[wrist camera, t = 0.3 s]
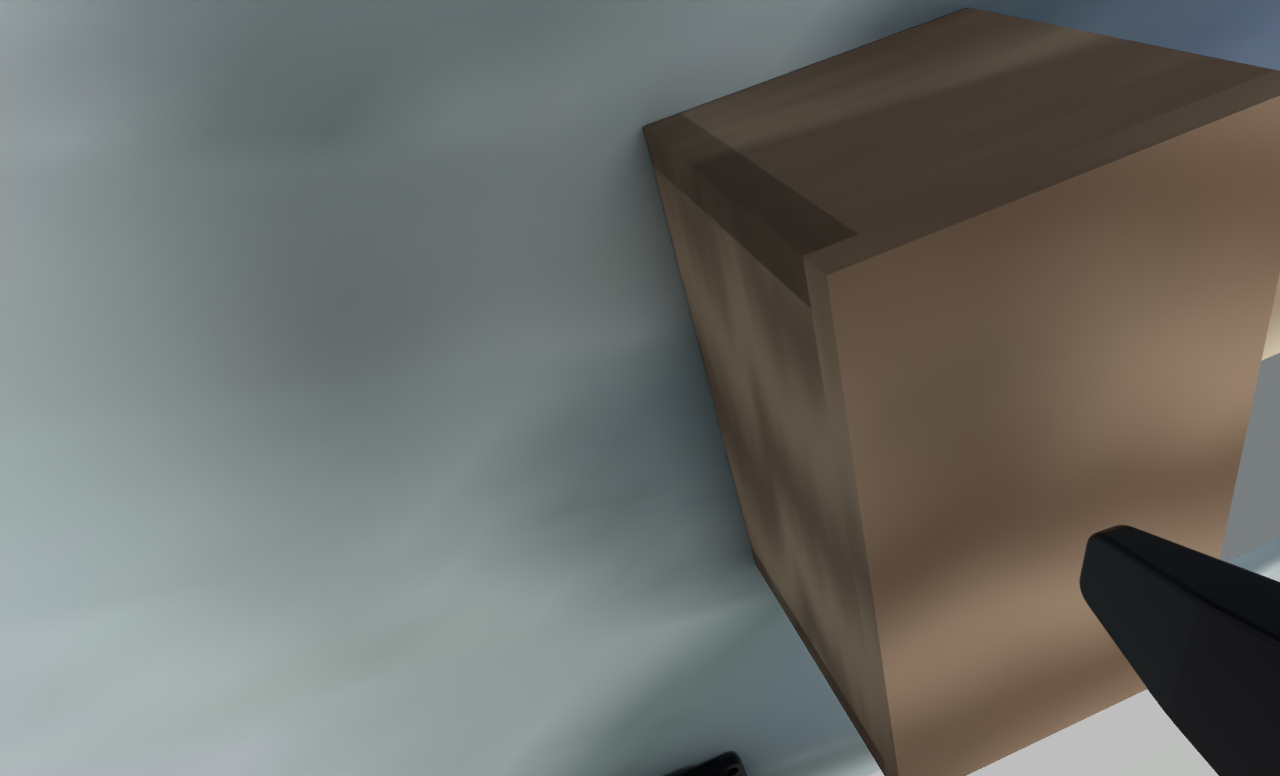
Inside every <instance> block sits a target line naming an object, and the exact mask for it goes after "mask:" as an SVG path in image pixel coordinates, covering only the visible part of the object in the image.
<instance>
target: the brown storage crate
mask: <svg viewBox="0 0 1280 776" xmlns="http://www.w3.org/2000/svg"><path fill="white" fill-rule="evenodd" d="M643 130H644V134H645V138H646V141H647V145H648V149H649V153H650V157H651V161H652V165H653V169H654V172H655V176H656V180H657V184H658V188H659V192H660V196H661V200H662V203H663V207H664V211H665V215H666V219H667V223H668V227H669V231H670V234H671V238H672V242H673V246H674V250H675V254H676V258H677V262H678V265H679V269H680V273H681V277H682V281H683V285H684V289H685V293H686V296H687V300H688V304H689V308H690V312H691V316H692V320H693V324H694V327H695V331H696V335H697V339H698V343H699V347H700V351H701V354H702V358H703V362H704V366H705V370H706V374H707V378H708V382H709V385H710V389H711V393H712V397H713V401H714V405H715V409H716V413H717V416H718V420H719V424H720V428H721V432H722V436H723V440H724V444H725V447H726V451H727V455H728V459H729V463H730V467H731V471H732V475H733V478H734V482H735V486H736V490H737V494H738V498H739V502H740V506H741V509H742V513H743V517H744V521H745V525H746V529H747V533H748V537H749V540H750V544H751V548H752V552H753V556H754V560H755V564H756V566H757V567H758V569H759V571H760V572H761V574H762V576H763V577H764V579H765V580H766V582H767V584H768V585H769V587H770V589H771V590H772V592H773V594H774V595H775V597H776V598H777V600H778V602H779V603H780V605H781V607H782V608H783V610H784V612H785V613H786V615H787V617H788V618H789V620H790V621H791V623H792V625H793V626H794V628H795V630H796V631H797V633H798V635H799V636H800V638H801V639H802V641H803V643H804V644H805V646H806V648H807V649H808V651H809V653H810V654H811V656H812V657H813V659H814V661H815V662H816V664H817V666H818V667H819V669H820V671H821V672H822V674H823V675H824V677H825V679H826V680H827V682H828V684H829V685H830V687H831V689H832V690H833V692H834V693H835V695H836V697H837V698H838V700H839V702H840V703H841V705H842V707H843V708H844V710H845V711H846V713H847V715H848V716H849V718H850V720H851V721H852V723H853V725H854V726H855V728H856V729H857V731H858V733H859V734H860V736H861V738H862V739H863V741H864V743H865V744H866V746H867V748H868V749H869V751H870V752H871V754H872V756H873V757H874V759H875V761H876V762H877V764H878V766H879V767H880V769H881V770H882V772H883V773H884V775H885V776H966V775H968V774H970V773H972V772H974V771H976V770H978V769H981V768H983V767H985V766H987V765H989V764H991V763H993V762H995V761H997V760H999V759H1001V758H1003V757H1006V756H1008V755H1010V754H1012V753H1014V752H1016V751H1018V750H1020V749H1022V748H1025V747H1027V746H1029V745H1031V744H1033V743H1035V742H1037V741H1039V740H1041V739H1043V738H1045V737H1047V736H1050V735H1052V734H1054V733H1056V732H1058V731H1060V730H1062V729H1064V728H1066V727H1068V726H1071V725H1073V724H1075V723H1077V722H1079V721H1081V720H1083V719H1085V718H1087V717H1089V716H1091V715H1094V714H1095V713H1098V712H1100V711H1102V710H1104V709H1106V708H1108V707H1110V706H1112V705H1114V704H1116V703H1119V702H1121V701H1123V700H1125V699H1127V698H1129V697H1131V696H1133V695H1135V694H1137V693H1140V692H1142V691H1144V690H1146V689H1147V687H1146V686H1145V685H1144V683H1143V682H1142V680H1141V679H1140V678H1139V676H1138V675H1137V673H1136V672H1135V670H1134V669H1133V668H1132V666H1131V665H1130V663H1129V662H1128V661H1127V659H1126V658H1125V656H1124V655H1123V654H1122V652H1121V651H1120V649H1119V648H1118V647H1117V645H1116V644H1115V642H1114V641H1113V640H1112V638H1111V637H1110V635H1109V634H1108V633H1107V631H1106V630H1105V628H1104V627H1103V626H1102V624H1101V623H1100V621H1099V620H1098V619H1097V617H1096V616H1095V614H1094V613H1093V612H1092V610H1091V609H1090V607H1089V606H1088V605H1087V603H1086V601H1085V600H1084V598H1083V595H1082V593H1081V590H1080V585H1079V579H1080V574H1081V569H1082V564H1083V559H1084V554H1085V549H1086V545H1087V541H1088V539H1089V537H1090V536H1091V535H1092V534H1094V533H1096V532H1099V531H1102V530H1104V529H1107V528H1110V527H1113V526H1116V525H1128V526H1132V527H1135V528H1137V529H1140V530H1143V531H1145V532H1148V533H1151V534H1153V535H1156V536H1159V537H1161V538H1164V539H1167V540H1169V541H1172V542H1175V543H1177V544H1180V545H1183V546H1185V547H1188V548H1191V549H1193V550H1196V551H1198V552H1201V553H1204V554H1206V555H1209V556H1212V557H1214V558H1217V559H1220V555H1221V551H1222V546H1223V541H1224V536H1225V532H1226V527H1227V522H1228V517H1229V513H1230V508H1231V503H1232V498H1233V494H1234V489H1235V484H1236V479H1237V474H1238V470H1239V465H1240V460H1241V455H1242V451H1243V446H1244V441H1245V436H1246V432H1247V427H1248V422H1249V417H1250V413H1251V408H1252V403H1253V398H1254V394H1255V389H1256V384H1257V379H1258V375H1259V370H1260V365H1261V360H1262V355H1263V351H1264V346H1265V341H1266V336H1267V332H1268V327H1269V322H1270V317H1271V313H1272V308H1273V303H1274V298H1275V294H1276V289H1277V284H1278V279H1279V275H1280V71H1277V70H1272V69H1267V68H1262V67H1257V66H1253V65H1248V64H1243V63H1238V62H1233V61H1228V60H1223V59H1218V58H1213V57H1208V56H1203V55H1199V54H1194V53H1189V52H1184V51H1179V50H1174V49H1169V48H1164V47H1159V46H1154V45H1149V44H1144V43H1140V42H1135V41H1130V40H1125V39H1120V38H1115V37H1110V36H1105V35H1100V34H1095V33H1090V32H1086V31H1081V30H1076V29H1071V28H1066V27H1061V26H1056V25H1051V24H1046V23H1041V22H1036V21H1031V20H1027V19H1022V18H1017V17H1012V16H1007V15H1002V14H997V13H992V12H987V11H982V10H977V9H973V8H965V9H963V10H960V11H957V12H954V13H952V14H949V15H946V16H943V17H941V18H938V19H935V20H933V21H930V22H927V23H924V24H922V25H919V26H916V27H913V28H911V29H908V30H905V31H903V32H900V33H897V34H894V35H892V36H889V37H886V38H883V39H881V40H878V41H875V42H873V43H870V44H867V45H864V46H862V47H859V48H856V49H853V50H851V51H848V52H845V53H842V54H840V55H837V56H834V57H832V58H829V59H826V60H823V61H821V62H818V63H815V64H812V65H810V66H807V67H804V68H802V69H799V70H796V71H793V72H791V73H788V74H785V75H782V76H780V77H777V78H774V79H772V80H769V81H766V82H763V83H761V84H758V85H755V86H752V87H750V88H747V89H744V90H741V91H739V92H736V93H733V94H731V95H728V96H725V97H722V98H720V99H717V100H714V101H711V102H709V103H706V104H703V105H701V106H698V107H695V108H692V109H690V110H687V111H684V112H681V113H679V114H676V115H673V116H671V117H668V118H665V119H662V120H660V121H657V122H654V123H651V124H649V125H646V126H643Z"/></svg>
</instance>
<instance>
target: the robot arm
mask: <svg viewBox="0 0 1280 776" xmlns="http://www.w3.org/2000/svg"><path fill="white" fill-rule="evenodd" d="M1079 585H1080V590H1081V593H1082V595H1083V598H1084V600H1085V601H1086V603H1087V605H1088V606H1089V607H1090V609H1091V610H1092V612H1093V613H1094V614H1095V616H1096V617H1097V619H1098V620H1099V621H1100V623H1101V624H1102V626H1103V627H1104V628H1105V630H1106V631H1107V633H1108V634H1109V635H1110V637H1111V638H1112V640H1113V641H1114V642H1115V644H1116V645H1117V647H1118V648H1119V649H1120V651H1121V652H1122V654H1123V655H1124V656H1125V658H1126V659H1127V661H1128V662H1129V663H1130V665H1131V666H1132V668H1133V669H1134V670H1135V672H1136V673H1137V675H1138V676H1139V678H1140V679H1141V680H1142V682H1143V683H1144V685H1145V686H1146V687H1147V689H1148V690H1149V692H1150V693H1151V694H1152V696H1153V697H1154V698H1155V700H1156V701H1157V702H1158V704H1159V705H1160V706H1161V707H1162V709H1163V710H1164V711H1165V713H1166V714H1167V715H1168V716H1169V717H1170V719H1171V720H1172V721H1173V722H1174V724H1175V725H1176V726H1177V727H1178V728H1179V730H1180V731H1181V732H1182V733H1183V734H1184V736H1185V737H1186V738H1187V739H1188V740H1189V741H1190V742H1191V744H1192V745H1193V746H1194V747H1195V748H1196V749H1197V751H1198V752H1199V753H1200V754H1201V755H1202V756H1203V757H1204V759H1205V760H1206V761H1207V762H1208V763H1209V765H1210V766H1211V767H1212V768H1213V769H1214V770H1215V772H1216V773H1217V774H1218V775H1219V776H1280V582H1278V581H1275V580H1273V579H1270V578H1267V577H1265V576H1262V575H1259V574H1257V573H1254V572H1252V571H1249V570H1246V569H1244V568H1241V567H1238V566H1236V565H1233V564H1230V563H1228V562H1225V561H1222V560H1220V559H1217V558H1214V557H1212V556H1209V555H1206V554H1204V553H1201V552H1198V551H1196V550H1193V549H1191V548H1188V547H1185V546H1183V545H1180V544H1177V543H1175V542H1172V541H1169V540H1167V539H1164V538H1161V537H1159V536H1156V535H1153V534H1151V533H1148V532H1145V531H1143V530H1140V529H1137V528H1135V527H1132V526H1128V525H1116V526H1113V527H1110V528H1107V529H1104V530H1102V531H1099V532H1096V533H1094V534H1092V535H1091V536H1090V537H1089V539H1088V541H1087V545H1086V549H1085V554H1084V559H1083V564H1082V569H1081V574H1080V579H1079ZM686 776H747V774H746V771H745V769H744V766H743V764H742V761H741V759H740V758H739V756H736V755H731V756H728V757H725V758H723V759H721V760H719V761H717V762H715V763H712V764H710V765H708V766H706V767H704V768H701V769H699V770H697V771H695V772H693V773H691V774H688V775H686Z"/></svg>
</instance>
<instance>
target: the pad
mask: <svg viewBox="0 0 1280 776" xmlns="http://www.w3.org/2000/svg"><path fill="white" fill-rule="evenodd" d="M1279 536H1280V353H1278V354H1276V355H1273V356H1271V357H1269V358H1266V359H1264V360H1262V361H1261V365H1260V370H1259V375H1258V379H1257V384H1256V389H1255V394H1254V398H1253V403H1252V408H1251V413H1250V417H1249V422H1248V427H1247V432H1246V436H1245V441H1244V446H1243V451H1242V455H1241V460H1240V465H1239V470H1238V474H1237V479H1236V484H1235V489H1234V494H1233V498H1232V503H1231V508H1230V513H1229V517H1228V522H1227V527H1226V532H1225V536H1224V541H1223V546H1222V551H1221V555H1220V560H1222V561H1227V560H1229V559H1231V558H1234V557H1236V556H1238V555H1240V554H1242V553H1244V552H1247V551H1249V550H1251V549H1253V548H1255V547H1257V546H1259V545H1262V544H1264V543H1266V542H1268V541H1270V540H1272V539H1275V538H1277V537H1279Z"/></svg>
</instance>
